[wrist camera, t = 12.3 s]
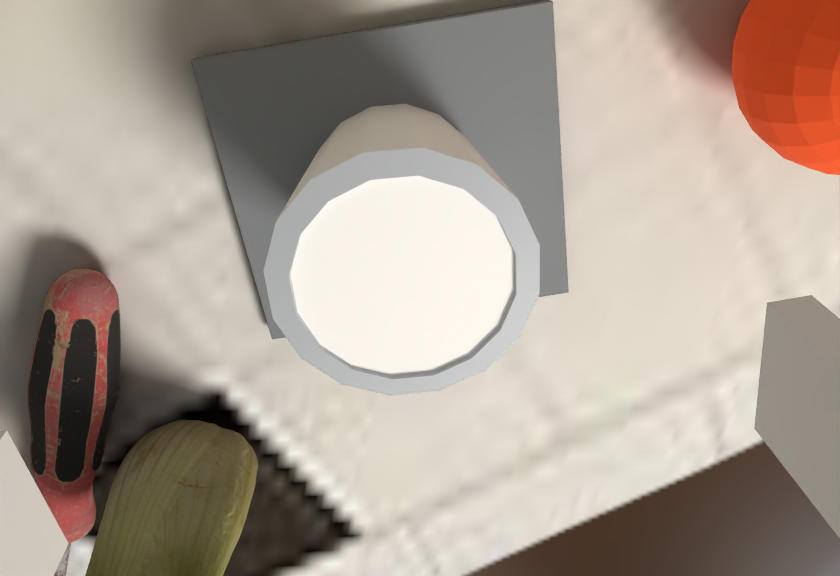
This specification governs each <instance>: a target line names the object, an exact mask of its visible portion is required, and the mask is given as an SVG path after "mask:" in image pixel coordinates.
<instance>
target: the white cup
mask: <svg viewBox="0 0 840 576" xmlns="http://www.w3.org/2000/svg"><path fill="white" fill-rule="evenodd" d="M263 272H264V277H265V282H266V287H267V292H268V297H269V302H270V307H271V312H272V317H273V320H274V321H275V322H276V324H277V325H278V327H279V328H280V329H281V331H282V332H283V334H284V335H285V336H286V338H287V339H288V341H289V342H290V343H291V345H292V346H293V348H294V349H295V350H296V352H297V353H298V355H299V356H300V357H301V358H302V359H303V360H305V361H306V362H308V363H310V364H311V365H313V366H314V367H316V368H317V369H319V370H320V371H322V372H324V373H325V374H327V375H328V376H330V377H331V378H333V379H335V380H336V381H338V382H339V383H341V384H343V385H347V386H352V387H356V388H360V389H365V390H369V391H373V392H378V393H382V394H386V395H400V394H410V393H420V392H431V391H440V390H442V389H444V388H447V387H449V386H451V385H453V384H456V383H458V382H460V381H462V380H465V379H467V378H469V377H471V376H474V375H476V374H478V373H480V372H483V371H485V370H486V369H487V368H488V367H489V366H490V365H491V364H492V363H493V362H494V361H495V360H496V359H497V358H498V357H499V356H500V355H501V354H503V353H504V352H505V351H506V350H507V349H508V348H509V347H510V346H511V345H512V344H513V343H514V342H515V341H516V340H517V339H518V338H519V337H520V335H521V333H522V331H523V329H524V327H525V324H526V322H527V320H528V318H529V316H530V313H531V311H532V309H533V307H534V305H535V302H536V300H537V298H538V296H539V294H540V245H539V242H538V240H537V238H536V236H535V234H534V232H533V230H532V227H531V225H530V223H529V221H528V219H527V217H526V214H525V212H524V210H523V208H522V206H521V204H520V202H519V199H518V198H517V197H516V196H515V195H514V194H513V192H512V191H511V190H510V189H509V188H508V187H507V186H506V184H505V183H504V182H503V181H502V180H501V179H500V177H499V176H498V175H497V174H496V173H495V172H494V170H493V169H492V168H491V167H490V166H489V165H488V163H487V162H486V161H485V160H484V159H483V158H482V156H481V155H480V154H479V153H478V152H477V151H476V149H475V148H474V147H473V146H472V145H471V144H470V142H469V141H468V140H467V139H466V138H465V137H464V136H463V135H462V134H461V133H460V132H459V131H458V130H456V129H455V128H454V127H453V126H452V125H451V124H449V123H448V122H447V121H446V120H445V119H444V118H442V117H441V116H440V115H439V114H437V113H434V112H430V111H427V110H424V109H421V108H418V107H415V106H412V105H408V104H396V105H384V106H373V107H369V108H367V109H366V110H364V111H362V112H360V113H358V114H356V115H354V116H352V117H350V118H348V119H347V120H345V121H343V122H341V123H340V124H339V125H338V126H337V128H336V129H335V130H334V131H333V133H332V134H331V135H330V136H329V137H328V139H327V140H326V141H325V142H324V144H323V145H322V146H321V147H320V149H319V150H318V152H317V154H316V155H315V157H314V159H313V160H312V162H311V164H310V165H309V167H308V169H307V170H306V172H305V174H304V175H303V177H302V179H301V180H300V182H299V184H298V185H297V187H296V189H295V191H294V192H293V194H292V196H291V197H290V199H289V201H288V202H287V204H286V206H285V207H284V209H283V211H282V212H281V214H280V216H279V217H278V219H277V221H276V223H275V227H274V231H273V235H272V239H271V243H270V247H269V251H268V255H267V259H266V263H265V267H264V271H263Z"/></svg>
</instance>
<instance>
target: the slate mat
mask: <svg viewBox="0 0 840 576" xmlns="http://www.w3.org/2000/svg"><path fill="white" fill-rule="evenodd" d="M191 63H192V66H193V69H194V73H195V76H196V80H197V83H198V87H199V90H200V93H201V97H202V100H203V104H204V107H205V111H206V114H207V117H208V121H209V124H210V128H211V131H212V135H213V138H214V141H215V145H216V148H217V152H218V155H219V159H220V162H221V165H222V169H223V172H224V176H225V179H226V183H227V186H228V189H229V193H230V196H231V200H232V203H233V207H234V210H235V214H236V217H237V220H238V224H239V227H240V231H241V234H242V238H243V241H244V244H245V248H246V251H247V255H248V258H249V262H250V265H251V268H252V272H253V275H254V279H255V282H256V286H257V289H258V292H259V296H260V299H261V303H262V306H263V310H264V313H265V316H266V320H267V323H268V327H269V330H270V334H271V337H272V339H277V338H283V337H286V336H285V335H284V334H283V332H282V331H281V329H280V328H279V327H278V325H277V324H276V322H275V321H274V320H273V317H272V312H271V307H270V302H269V297H268V292H267V287H266V282H265V277H264V272H263V271H264V267H265V263H266V259H267V255H268V251H269V247H270V243H271V239H272V235H273V231H274V227H275V223H276V221H277V219H278V217H279V216H280V214H281V212H282V211H283V209H284V207H285V206H286V204H287V202H288V201H289V199H290V197H291V196H292V194H293V192H294V191H295V189H296V187H297V185H298V184H299V182H300V180H301V179H302V177H303V175H304V174H305V172H306V170H307V169H308V167H309V165H310V164H311V162H312V160H313V159H314V157H315V155H316V154H317V152H318V150H319V149H320V147H321V146H322V145H323V144H324V142H325V141H326V140H327V139H328V137H329V136H330V135H331V134H332V133H333V131H334V130H335V129H336V128H337V126H338V125H339V124H340V123H341V122H343V121H345V120H347V119H348V118H350V117H352V116H354V115H356V114H358V113H360V112H362V111H364V110H366V109H367V108H369V107H373V106H384V105H396V104H408V105H412V106H415V107H418V108H421V109H424V110H427V111H430V112H434V113H437V114H439V115H440V116H441V117H442V118H444V119H445V120H446V121H447V122H448V123H449V124H451V125H452V126H453V127H454V128H455V129H456V130H458V131H459V132H460V133H461V134H462V135H463V136H464V137H465V138H466V139H467V140H468V141H469V142H470V144H471V145H472V146H473V147H474V148H475V149H476V151H477V152H478V153H479V154H480V155H481V156H482V158H483V159H484V160H485V161H486V162H487V163H488V165H489V166H490V167H491V168H492V169H493V170H494V172H495V173H496V174H497V175H498V176H499V177H500V179H501V180H502V181H503V182H504V183H505V184H506V186H507V187H508V188H509V189H510V190H511V191H512V192H513V194H514V195H515V196H516V197H517V198H518V199H519V202H520V204H521V206H522V208H523V210H524V212H525V214H526V217H527V219H528V221H529V223H530V225H531V227H532V230H533V232H534V234H535V236H536V238H537V240H538V242H539V245H540V294H539V296H538V297H542V296H548V295H555V294H561V293H567V292H568V275H567V256H566V238H565V219H564V201H563V182H562V164H561V145H560V127H559V108H558V90H557V71H556V53H555V34H554V16H553V2H552V1H550V0H543V1H537V2H531V3H525V4H519V5H513V6H506V7H500V8H494V9H488V10H482V11H476V12H470V13H464V14H458V15H452V16H446V17H440V18H434V19H428V20H422V21H415V22H409V23H403V24H397V25H391V26H385V27H379V28H373V29H367V30H361V31H355V32H349V33H343V34H337V35H331V36H324V37H318V38H312V39H306V40H300V41H294V42H288V43H282V44H276V45H270V46H264V47H258V48H252V49H246V50H240V51H233V52H227V53H221V54H215V55H209V56H203V57H197V58H195V59H193V60H192V61H191Z"/></svg>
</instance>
